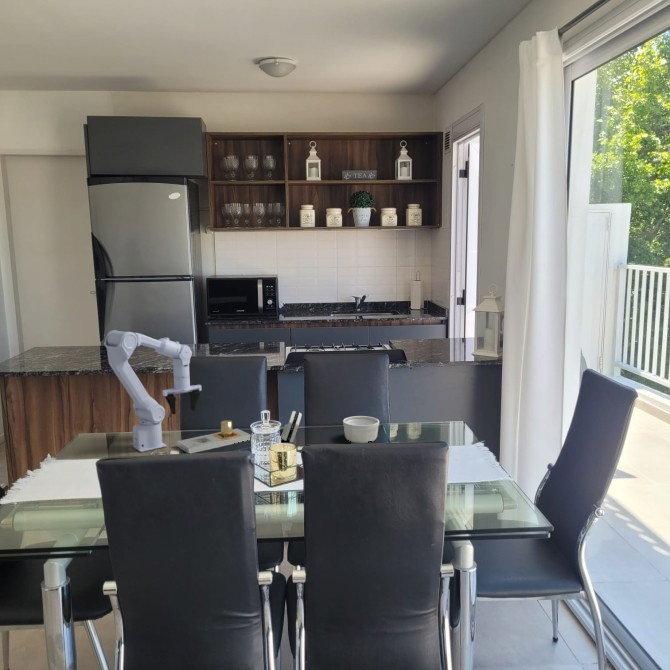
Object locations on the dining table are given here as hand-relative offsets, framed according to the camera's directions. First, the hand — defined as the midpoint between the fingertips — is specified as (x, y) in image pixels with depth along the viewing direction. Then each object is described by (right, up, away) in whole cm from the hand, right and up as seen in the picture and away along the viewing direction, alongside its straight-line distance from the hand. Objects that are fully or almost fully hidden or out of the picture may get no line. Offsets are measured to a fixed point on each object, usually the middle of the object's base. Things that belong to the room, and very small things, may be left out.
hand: (183, 411), depth 218 cm
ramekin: (+66, -10, -4) cm, 67 cm away
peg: (+17, -10, -5) cm, 20 cm away
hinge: (+40, -9, +1) cm, 42 cm away
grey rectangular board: (+13, -10, -8) cm, 18 cm away
